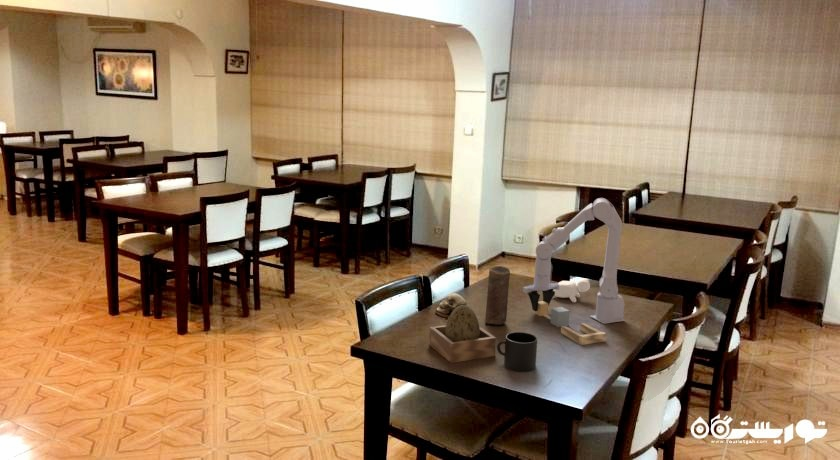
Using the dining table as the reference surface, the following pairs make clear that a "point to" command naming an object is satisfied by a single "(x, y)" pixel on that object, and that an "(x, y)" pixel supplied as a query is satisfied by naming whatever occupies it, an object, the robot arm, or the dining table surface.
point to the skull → (450, 304)
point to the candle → (497, 295)
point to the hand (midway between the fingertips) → (539, 309)
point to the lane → (588, 338)
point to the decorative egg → (462, 324)
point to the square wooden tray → (462, 345)
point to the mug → (519, 351)
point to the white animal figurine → (571, 289)
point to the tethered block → (554, 314)
